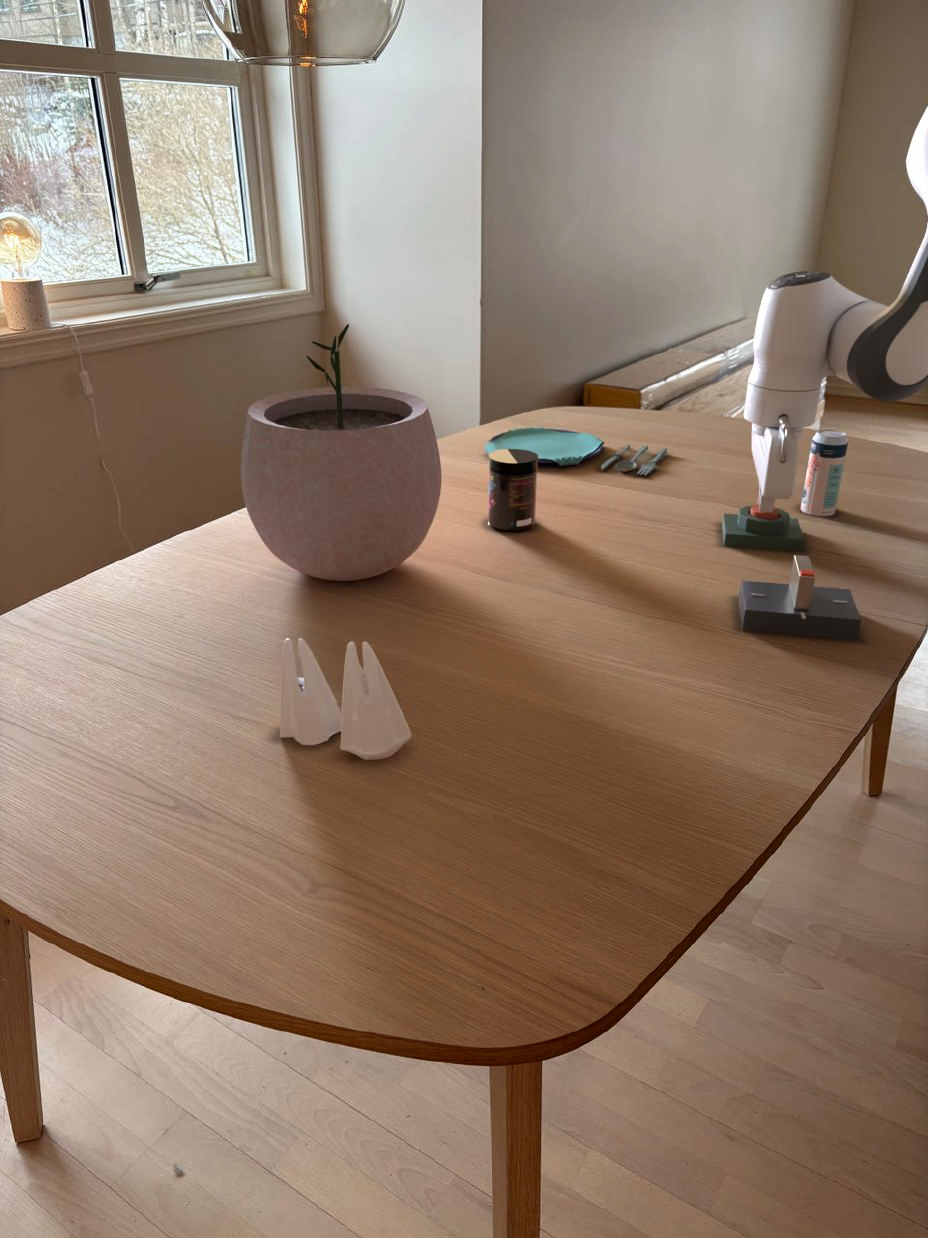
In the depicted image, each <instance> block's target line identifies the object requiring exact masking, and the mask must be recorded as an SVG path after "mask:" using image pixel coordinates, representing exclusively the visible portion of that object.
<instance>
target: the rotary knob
mask: <svg viewBox="0 0 928 1238" xmlns="http://www.w3.org/2000/svg"><path fill="white" fill-rule="evenodd" d="M789 578H790V579H789V583H788V584H789V589H790V593H791V598H792V602H793V606H794V609H797V610H808V611H809V610H810V604H811V599H812V593H813V588H814V586H815V583H816V576H815V572H814V568H813V566H812V562H811V558H810V556H809V555H800V554H799V555H797V554H795V555H794V556H793V560H792V566H791V571H790V577H789Z"/></svg>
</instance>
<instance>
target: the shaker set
mask: <svg viewBox="0 0 928 1238" xmlns="http://www.w3.org/2000/svg"><path fill="white" fill-rule="evenodd" d="M361 648H362V649H361V651H362V653H361V655H362V662H363V667H361V663H360V661H359V657H358V651H357V647H356V643H355V642H354V641H350V642H349V643H347V645H346V651H345V656H344V657H345V658H344V659H345V660H344V667H343V680H342V696H341V697H342V699H341V708H340V706H339V703H338V702H337V700H336V698H335V697H336V696H335V695H334V693H333V691H332V689H331V687H330V685H329V682H328V681H327V679H326V676H325V675H324V673H323V671H322V668H321V667H320V665H319V662H318V661H317V658H316V656H315V655H314V653H313V652H312V649H311V648H310V646H309V645H308V643H307V642H306V640H305V639H304V638H299V639H298V641H297V649H298V657H299V661H300V667H301V670H302V676H303V677H300V676H299V674H298V669H297V663H296V659H295V651H294V647H293V642H292V640H291V638H289V637H288V638H285V639H284V640H283V645H282V655H281V665H280V667H281V668H280V686H279V687H280V689H279V691H280V692H279V737H280V738H293V739H294V740H295V741H296V742H298V743H299V744H300V745H302V746H316V745H319V744H322V743H325V742H327V741H329V740H330V738H331V737H332V736H333V735H336V734H338V733H339V732H340V747H339V748H340V750H341V751H342V752H343V751H344V752H347V753H350V754H353V755H355V756H357V757H359V758H361V759H363V760H365V761H369V760H370V761H377V760H379V761H380V760H383V759H387V758H390V757H392V756H393V755H394V754H395V753H396V752H398V751H399V750H400V749H401V748H402V747H403V746H404V744H405V743H406V742H408V741H410V740H411V738H412V732H411V730H410V727H409V725H408V722H407V720H406V718H405V715H404V713H403V711H402V709H401V706H400V705H399V701H398V699H397V698H396V695H395V694H394V691H393V689H392V686H391V685H390V682H389V680H388V678H387V676H386V674H385V672H384V669H383V667H382V665H381V663H380V661H379V659H378V657H377V655H376V653H375V652H374V649H373V648H372V646H371V645H370V643H369V642H367V641H363V642H362V645H361Z"/></svg>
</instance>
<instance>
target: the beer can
mask: <svg viewBox="0 0 928 1238" xmlns="http://www.w3.org/2000/svg"><path fill="white" fill-rule="evenodd" d="M848 445H849V439H848V435H847V433H845V432H844V431H842V430H841V431H840V430H836V429H819V430H818V431H816V432H815V434H814V435H813V437H812V439H811V445H810V451H809V458H808V463H807V468H806V475H805V481H804V485H803V491H802V492H803V493H802V497H801V504H800V510H801V511H802V512H803V513H805V514H807V515H811V516H817V517H830V516H833V515H834V514H836V509H837V503H838V499H839V493H840V488H841V483H842V478H843V472H844V466H845V462H846V456H847V451H848Z"/></svg>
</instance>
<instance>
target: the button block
mask: <svg viewBox="0 0 928 1238" xmlns="http://www.w3.org/2000/svg"><path fill="white" fill-rule="evenodd" d="M755 505H756V504H755ZM755 505H745V506H744V507H742V508H740V509H739V510H738V514H737V513H723V514H722V521H721V531H722V532H721V533H722V541H723V546H724V547H733V548H734V547H736V548H749V549H759V550H760V549H761V550H762V549H763V550H774V551H785V552H799V553H802V552H803V550H804V549H803V548H804V543H805V538H804V535H803V531H802V528H801V526H800V525H801V524H800V522H799V520H798V518H793V517H791V516H790V513H789V512H787V511H786V510H784V509H782V508H779V507H776V508H777V509H778V510H779V513H778V518H776V519H761V518H757V517H753V516H751V515H750V512H751V507H752V506H755Z"/></svg>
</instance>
